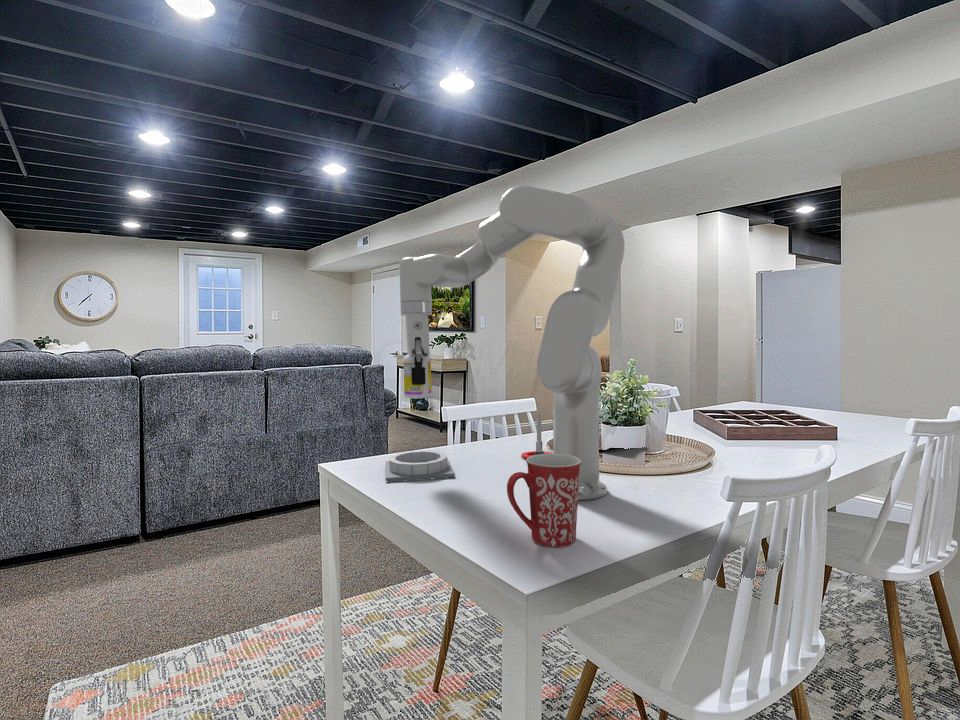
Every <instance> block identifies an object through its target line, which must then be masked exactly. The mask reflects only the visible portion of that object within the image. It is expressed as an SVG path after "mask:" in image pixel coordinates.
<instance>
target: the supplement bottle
mask: <svg viewBox="0 0 960 720" xmlns="http://www.w3.org/2000/svg"><path fill="white" fill-rule="evenodd" d="M406 350H407V354H406V355H405V356H404V357H403V359H402V360H403V362H402V363H403V389H404V390H403V392H404V393H403V394H404V397H405V398H407V399H417V400H418V399H427V398H430V397H432V395H433V394H432V392H433V391H432V365H431V364H432V363H431V362H432V359H431V356H430V355H429V356H426V355H427V354H425V353H424V368H425V384H424V385H412V372H411V368H413V366H412V356H410V355H409V353H408V346H407V345H406ZM414 355H416V353H414Z"/></svg>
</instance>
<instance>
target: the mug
mask: <svg viewBox="0 0 960 720" xmlns="http://www.w3.org/2000/svg"><path fill="white" fill-rule="evenodd" d="M525 461H526V466H527V473H526V472H523V471H521V472H520V471H518V472H515V473H513V474H511V476H510V477H509V479H507V480H508V481H507V482H506V483H507V484H506V494H507V497H508V501H509V503H510V505H511V507H512V509H513V510H514V512H515V513H516V514H517V516H518V517H519V518H520V520H521V521H523V523H524V524H525V525H526V526H527V527H528V529H530V530H531V539H532V541H533V542H534V541H535V542H534V543H535V544H538V545H540V544H541V546H543V547H544V546H545V547H549V546H551V548H563V547H567V545H568V546H571V545H573V544H574V543H575V541H576V537H577V523H578V507H579V502H578V501H579V500H578V488H579V470H580V464H581V460H580V459H579V458H577V457H574V456H571V455H565V454H553V453H552V454H539V455H530V457H528V458H527V459H525ZM520 479H523V480H524V481H525V483H526V485H527V488H528V491H529V492H528V493H529V494H528V495H529V496H528V497H529V511H530V519H529V518H528V517H527V516H526V515H525V513H524V512H523V511H522V510H521V508H520V507H519V505H518V503H517V501H516V498H515V493H514V492H515V490H514V489H515V484H516V482H517V481H518V480H520ZM572 543H573V544H572ZM570 544H571V545H570ZM562 546H563V547H562Z"/></svg>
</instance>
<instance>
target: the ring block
mask: <svg viewBox="0 0 960 720" xmlns="http://www.w3.org/2000/svg"><path fill="white" fill-rule="evenodd" d="M388 459H389V460H386V461H385V473H384V474H385V476H384V477H385V482H386V481H397V482H405V481H404V480H412V481H418V480H417V479H427V480H432V479H431V478H442V479H447V478H446V477H455V472H454V469H453V468H452V465H451V463H450V461H449V459H448V456H447V454H446V453H444V452H440V451H438V450H437V451H436V450H410V451H409V450H408V451H403V452H398V453H397V452H396V453H395V454H392V455H391V456H389V458H388ZM455 478H456V477H455Z"/></svg>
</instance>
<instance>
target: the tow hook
mask: <svg viewBox="0 0 960 720" xmlns="http://www.w3.org/2000/svg"><path fill="white" fill-rule="evenodd" d="M536 414H537V417H536V418H537V419H536V441H535V451H532V450H531V451H525V452H522V453H521V456H520V457H521V458H522V459H524V460H526V459H527V458H528V457H530V456H533V455H539V454H553V452H549V451H544V450H543V440H542V420H541V412H540V411H537V412H536Z"/></svg>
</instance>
